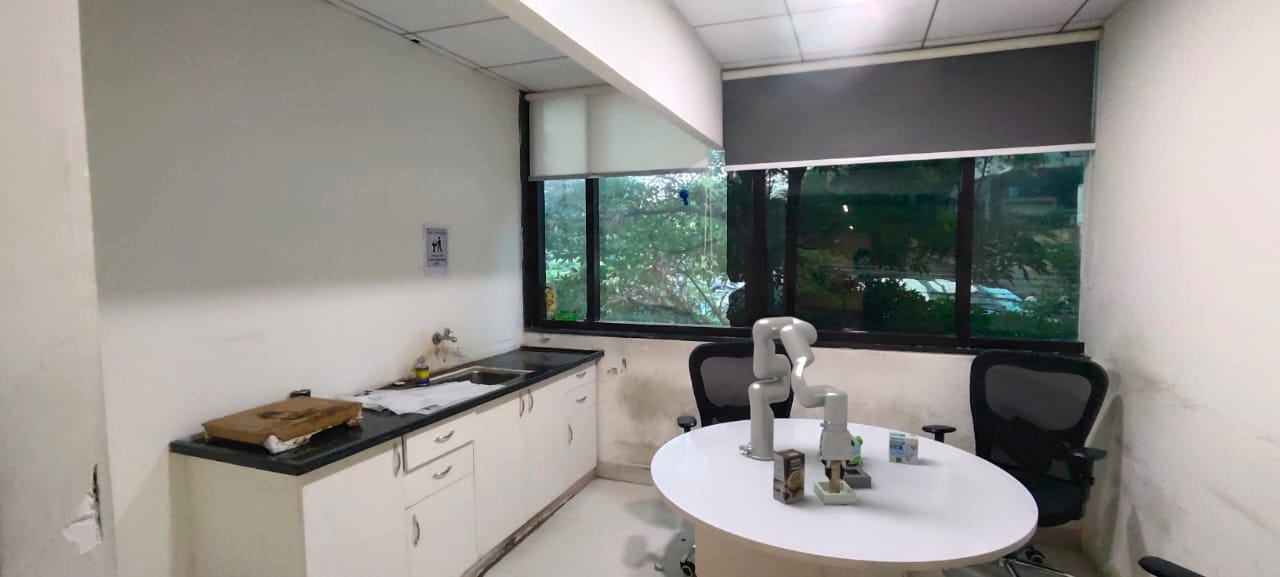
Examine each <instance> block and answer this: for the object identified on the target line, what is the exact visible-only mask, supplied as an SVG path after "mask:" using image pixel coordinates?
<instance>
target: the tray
mask: <svg viewBox="0 0 1280 577" xmlns="http://www.w3.org/2000/svg"><path fill="white" fill-rule="evenodd" d="M813 492H814V493H815V495H816V494H817V495H816V496H817V497H818V499H819V498H820V499H819V500H820V501H821V503H822V502H823V503H822V504H823V505H824V506H826V504H848V505H857V498H858V497H857V493H856V492H855V491H854V490H853V488H850V487H849V486H848V484H847V483H846V482H845V481H840V493H829V480H814V481H813Z"/></svg>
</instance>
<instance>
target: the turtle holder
mask: <svg viewBox="0 0 1280 577" xmlns="http://www.w3.org/2000/svg"><path fill="white" fill-rule="evenodd" d="M850 436H851V445H852V454H853V455H854V457H855V459H854V460H852V461H850V462H849V464H847V465H846V467H849V465H855V466H860V467H861V459H862V458H861V455H862V454H861V453H862V450H861V448H862V445H863V444H864V440H863V439H862V437H861V436H860V435H857V436H854V434H852V433H850Z"/></svg>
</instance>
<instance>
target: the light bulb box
mask: <svg viewBox="0 0 1280 577" xmlns="http://www.w3.org/2000/svg"><path fill="white" fill-rule="evenodd" d="M888 441H889V442H888V462H889V463H897V464H902V465H903V464H905V465H911V466H918V462H919V460H918V459H919V456H918V455H919V436H918V434H915V433H906V432H898V431H897V432H895V431H889V440H888Z"/></svg>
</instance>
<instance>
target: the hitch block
mask: <svg viewBox="0 0 1280 577" xmlns="http://www.w3.org/2000/svg"><path fill="white" fill-rule="evenodd" d="M840 481H845V482H846V483H847V484H848V486H849V487H850V488H851V489H872V476H871V475H869V474H868V472H867V471H865V470H864V468H862V467H861V465H860V466H857V465H855V466H854V465H853V466H847V467H846V468H845V473H844V476H843V479H841V478H840Z"/></svg>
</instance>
